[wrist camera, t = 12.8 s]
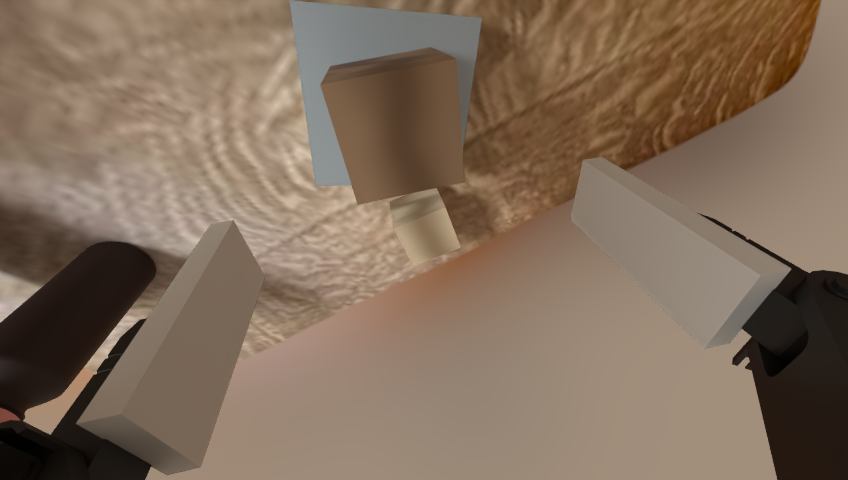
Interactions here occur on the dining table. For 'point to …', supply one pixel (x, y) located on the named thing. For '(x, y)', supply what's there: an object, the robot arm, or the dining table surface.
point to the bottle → (67, 324)
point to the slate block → (363, 39)
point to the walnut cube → (397, 122)
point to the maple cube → (423, 225)
